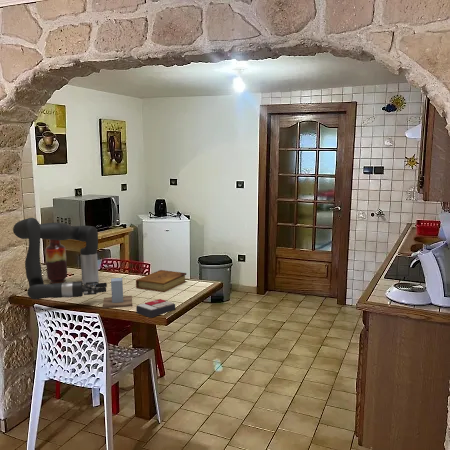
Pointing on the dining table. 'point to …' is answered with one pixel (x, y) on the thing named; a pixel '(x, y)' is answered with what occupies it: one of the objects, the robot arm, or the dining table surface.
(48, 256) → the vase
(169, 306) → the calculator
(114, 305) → the post stand
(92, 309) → the dining table surface
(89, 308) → the dining table surface
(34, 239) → the robot arm
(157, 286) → the diary
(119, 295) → the blue-grey rectangular block
